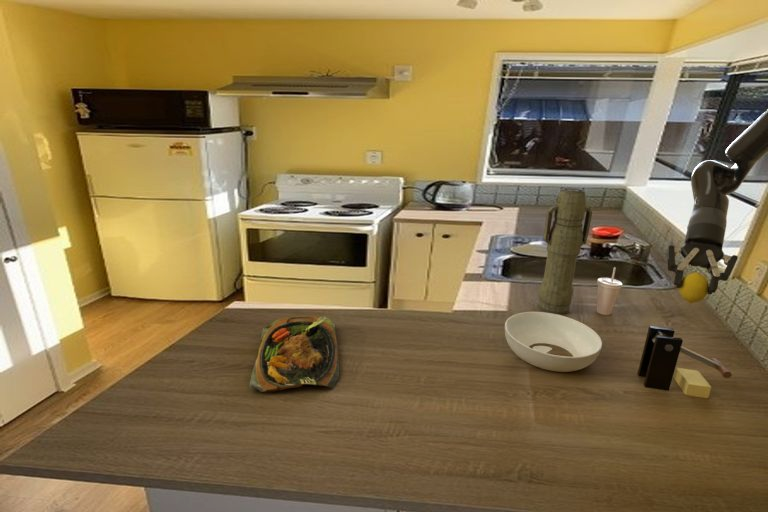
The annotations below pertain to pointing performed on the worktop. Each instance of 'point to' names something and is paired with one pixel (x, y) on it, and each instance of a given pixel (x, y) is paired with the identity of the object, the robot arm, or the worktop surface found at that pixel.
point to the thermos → (563, 249)
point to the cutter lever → (702, 358)
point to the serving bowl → (552, 340)
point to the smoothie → (607, 294)
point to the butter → (692, 382)
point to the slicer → (659, 358)
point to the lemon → (694, 287)
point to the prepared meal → (296, 354)
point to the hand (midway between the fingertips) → (694, 289)
